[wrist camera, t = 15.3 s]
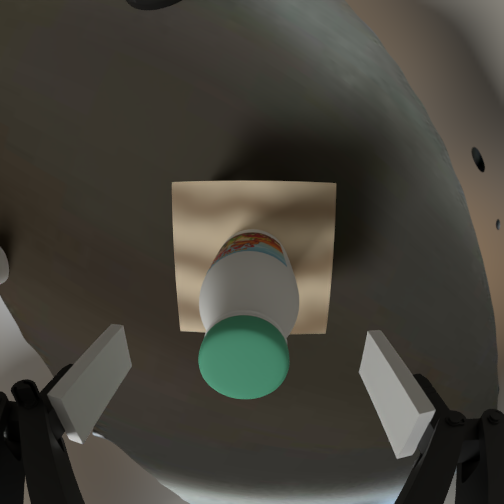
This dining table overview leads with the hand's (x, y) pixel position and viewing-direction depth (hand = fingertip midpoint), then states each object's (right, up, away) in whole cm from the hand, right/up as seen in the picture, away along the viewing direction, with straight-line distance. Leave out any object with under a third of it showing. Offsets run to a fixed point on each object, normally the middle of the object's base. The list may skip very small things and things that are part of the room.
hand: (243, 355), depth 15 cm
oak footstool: (+1, +7, +30) cm, 31 cm away
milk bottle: (+1, +4, +19) cm, 19 cm away
